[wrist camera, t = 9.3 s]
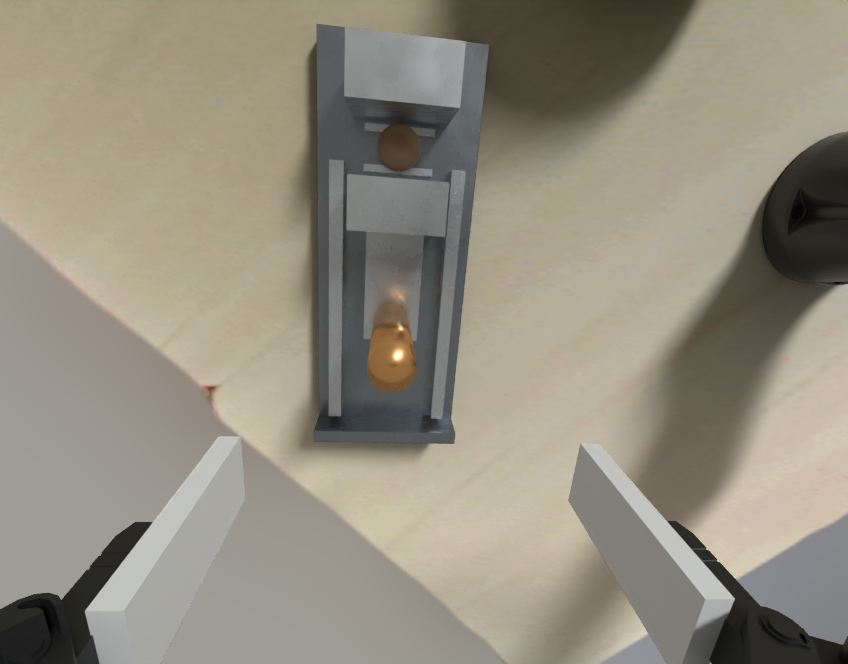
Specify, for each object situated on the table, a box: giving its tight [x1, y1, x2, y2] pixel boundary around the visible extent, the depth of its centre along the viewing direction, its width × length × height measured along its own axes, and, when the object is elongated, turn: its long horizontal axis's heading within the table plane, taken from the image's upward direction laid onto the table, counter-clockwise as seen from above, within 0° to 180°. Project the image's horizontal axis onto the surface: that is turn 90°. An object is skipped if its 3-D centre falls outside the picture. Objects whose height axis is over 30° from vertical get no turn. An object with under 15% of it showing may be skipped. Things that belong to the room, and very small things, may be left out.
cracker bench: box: [314, 24, 489, 444], centre depth 35 cm, size 36×14×9 cm, turn 176°
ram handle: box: [346, 174, 450, 392], centre depth 30 cm, size 14×8×14 cm, turn 176°
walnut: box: [377, 124, 421, 171], centre depth 33 cm, size 4×4×4 cm
